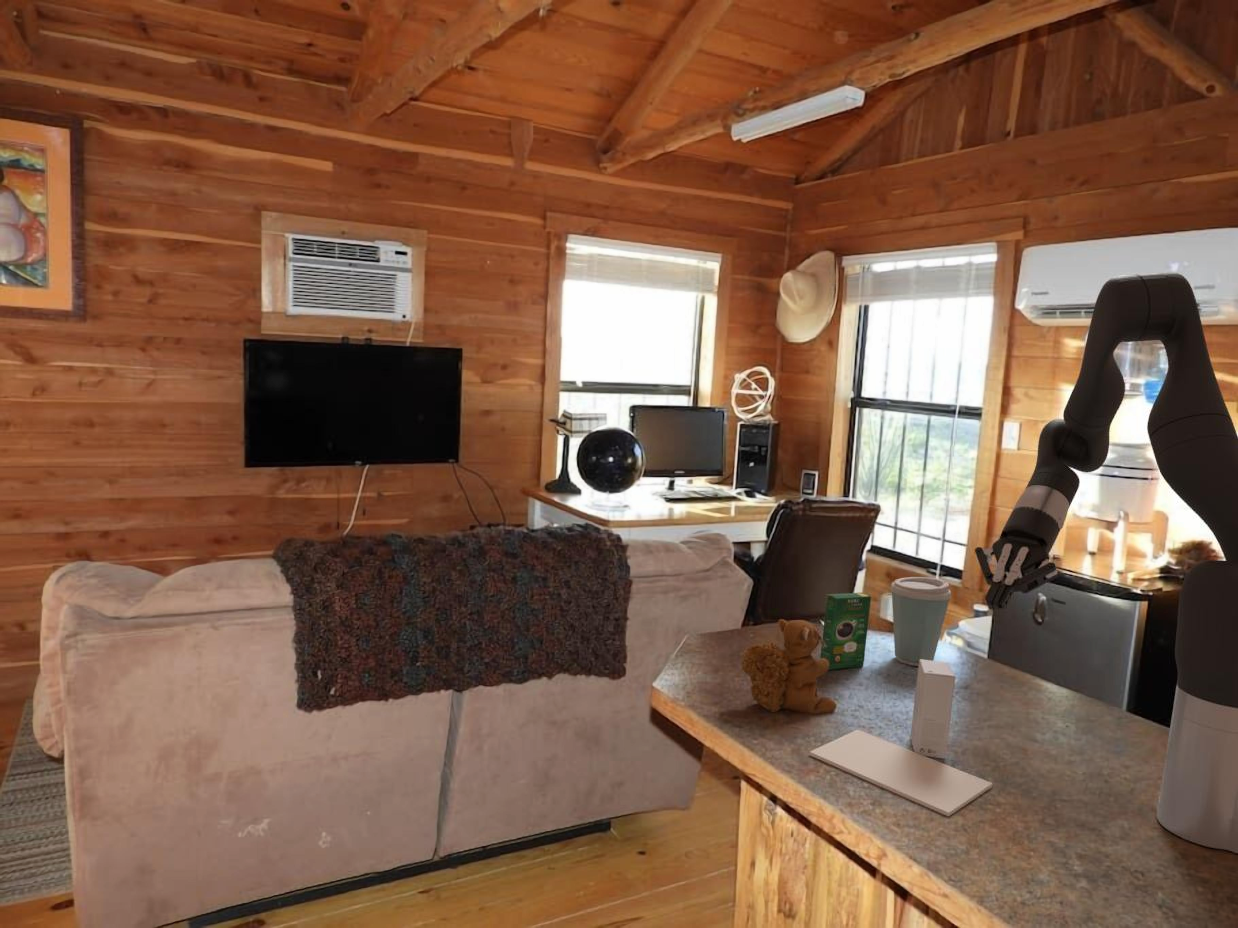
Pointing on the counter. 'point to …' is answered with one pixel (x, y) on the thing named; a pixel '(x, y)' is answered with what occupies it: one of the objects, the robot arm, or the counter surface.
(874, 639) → the counter surface
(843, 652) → the coffee box
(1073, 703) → the counter surface
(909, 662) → the disposable coffee cup
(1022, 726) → the counter surface
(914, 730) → the skincare box
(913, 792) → the flat beige rectangular board
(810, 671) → the stuffed squirrel
